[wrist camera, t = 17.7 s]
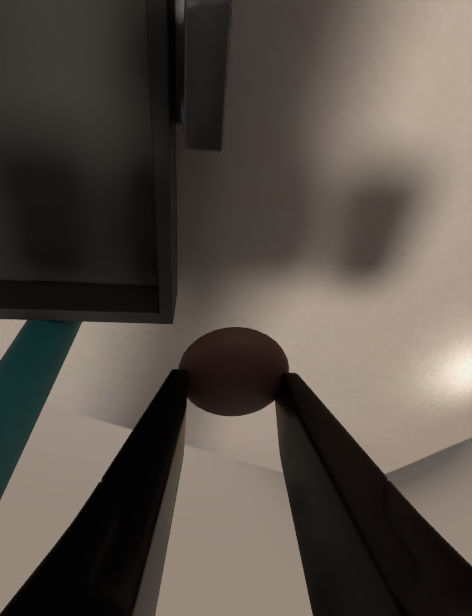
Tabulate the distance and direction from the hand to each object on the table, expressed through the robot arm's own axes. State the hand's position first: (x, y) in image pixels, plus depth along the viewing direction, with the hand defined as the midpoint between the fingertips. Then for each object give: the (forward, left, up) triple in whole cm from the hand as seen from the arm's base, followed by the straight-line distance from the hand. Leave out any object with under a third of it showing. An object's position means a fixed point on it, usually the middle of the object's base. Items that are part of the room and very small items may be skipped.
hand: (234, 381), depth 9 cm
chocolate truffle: (0, 0, -1) cm, 1 cm away
